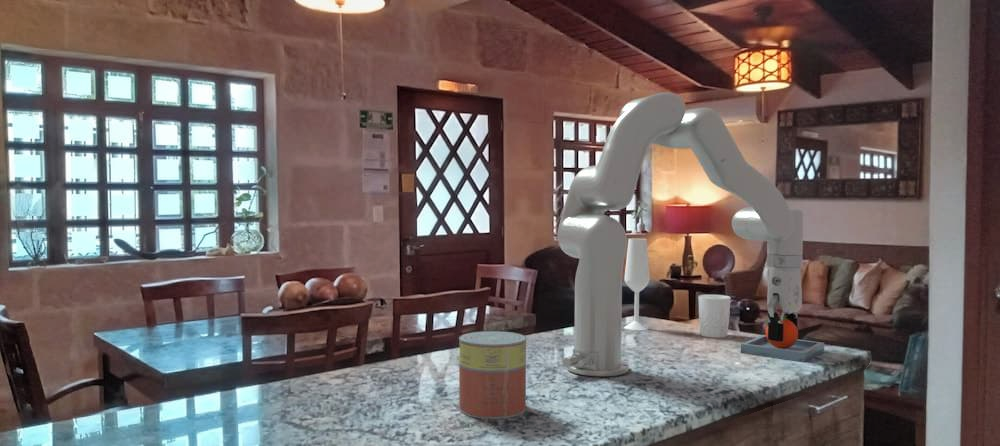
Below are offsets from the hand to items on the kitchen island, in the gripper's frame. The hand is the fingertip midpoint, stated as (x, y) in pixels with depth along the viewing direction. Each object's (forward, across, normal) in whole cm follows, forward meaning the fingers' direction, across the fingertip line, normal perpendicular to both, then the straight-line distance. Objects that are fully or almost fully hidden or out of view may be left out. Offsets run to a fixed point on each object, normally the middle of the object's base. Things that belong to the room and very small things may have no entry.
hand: (782, 337), depth 163 cm
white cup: (+4, +8, +20) cm, 22 cm away
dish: (+3, 0, 0) cm, 3 cm away
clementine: (+3, 0, 0) cm, 3 cm away
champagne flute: (+4, +4, +40) cm, 40 cm away
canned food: (+4, -76, +22) cm, 79 cm away
